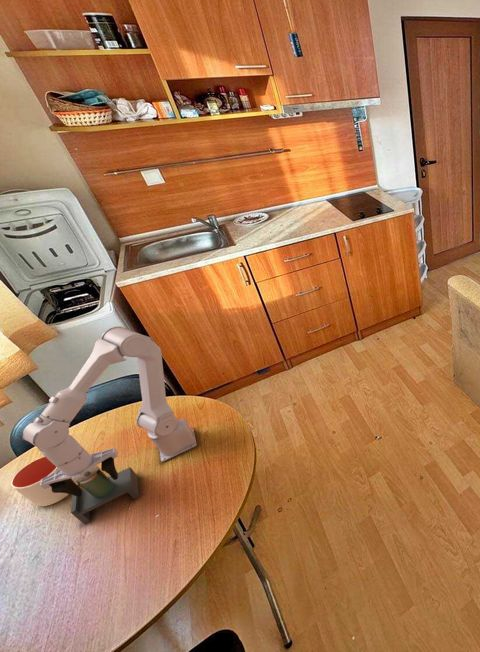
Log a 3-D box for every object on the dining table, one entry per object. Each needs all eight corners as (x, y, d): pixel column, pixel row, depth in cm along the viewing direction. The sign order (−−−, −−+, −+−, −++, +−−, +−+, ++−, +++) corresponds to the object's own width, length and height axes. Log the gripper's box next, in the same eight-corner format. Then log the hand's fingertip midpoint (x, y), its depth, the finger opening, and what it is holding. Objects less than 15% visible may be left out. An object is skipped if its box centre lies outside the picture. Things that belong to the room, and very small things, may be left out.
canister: (114, 478, 105) (97, 460, 101) (114, 491, 102) (97, 473, 98) (92, 488, 103) (74, 471, 98) (92, 502, 100) (73, 484, 95)
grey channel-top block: (137, 475, 111) (127, 464, 107) (139, 496, 106) (128, 484, 102) (85, 500, 105) (72, 489, 101) (83, 524, 99) (70, 512, 96)
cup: (54, 511, 102) (30, 491, 97) (25, 505, 104) (0, 485, 98) (90, 477, 111) (70, 457, 105) (63, 472, 112) (42, 452, 106)
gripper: (25, 484, 87) (61, 513, 95) (104, 450, 95) (131, 480, 102) (30, 463, 92) (64, 492, 99) (105, 432, 99) (131, 461, 107)
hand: (98, 485), depth 101 cm, fingers open, 7 cm apart
